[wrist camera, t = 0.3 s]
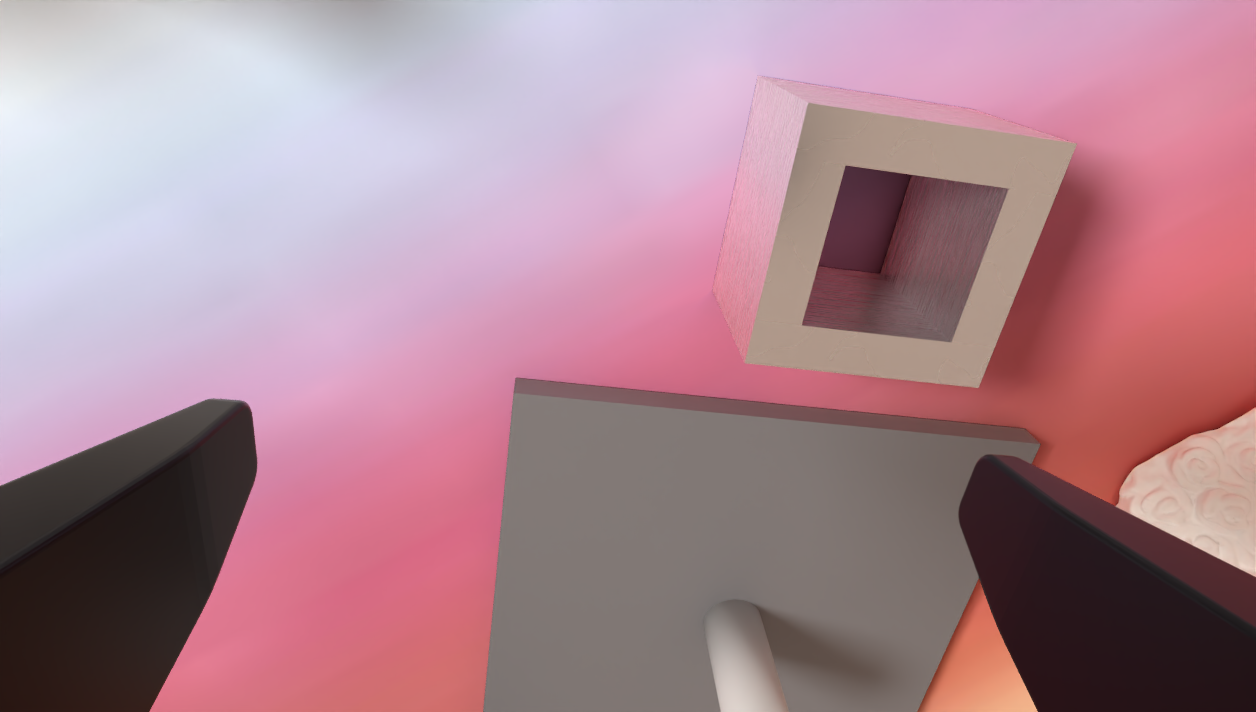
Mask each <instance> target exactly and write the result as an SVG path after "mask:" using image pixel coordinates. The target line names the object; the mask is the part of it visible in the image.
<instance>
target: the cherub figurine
mask: <svg viewBox="0 0 1256 712" xmlns="http://www.w3.org/2000/svg"><path fill="white" fill-rule="evenodd" d="M1119 495H1120V497H1119V502H1118V504H1117V505H1116V507H1118V508H1120V509H1122V510H1124V511H1126V512H1128V513H1130V514H1132V515H1134V516H1136V517H1138V518H1140V519H1141V520H1143V521H1145V522H1147V523H1149V524H1151V525H1153V526H1155V527H1157V528H1159V529H1161V530H1163V531H1165V532H1167V533H1169V534H1171V535H1173V536H1175V537H1177V538H1179V539H1181V540H1183V541H1185V542H1187V543H1189V544H1191V545H1193V546H1195V547H1197V548H1199V549H1201V550H1203V551H1205V552H1207V553H1209V554H1211V555H1213V556H1215V557H1217V558H1219V559H1221V560H1223V561H1225V562H1227V563H1229V564H1231V565H1233V566H1235V567H1237V568H1239V569H1241V570H1243V571H1245V572H1247V573H1249V574H1251V575H1253V576H1255V577H1256V407H1255V408H1253V409H1252V410H1250V411H1249V412H1247V413H1246V414H1244V415H1242V416H1240V417H1239V418H1237V419H1235V420H1233V421H1231V422H1230V423H1228V424H1226V425H1224V426H1222V427H1220V428H1218V429H1216V430H1211V431H1206V432H1203V433H1198V434H1194V435H1191V436H1189V437H1187V438H1186V439H1184V440H1182V441H1181V442H1179V443H1177V444H1175V445H1173V446H1171V447H1170V448H1168V449H1166V450H1164V451H1163V452H1161V453H1159V454H1157V455H1155V456H1154V457H1152V458H1151V459H1149V460H1148V461H1146V462H1143V463H1142V464H1140V465H1138V466H1136V467H1135V468H1134V469H1133V470H1132V471H1131V472H1130V474H1129V475H1128V477H1127V478H1126V480H1125V481H1124V483H1123V485H1122V486H1121V488H1120V491H1119Z"/></svg>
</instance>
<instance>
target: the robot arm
mask: <svg viewBox="0 0 1256 712" xmlns="http://www.w3.org/2000/svg"><path fill="white" fill-rule="evenodd" d="M256 472H257V454H256V445H255V436H254V427H253V418H252V412H251V409H250V407H249V405H248V404H247V403H246V402H244V401H240V400H227V399H207V400H205V401H202V402H200V403H197V404H195V405H193V406H190V407H188V408H185V409H183V410H181V411H178V412H176V413H173V414H171V415H169V416H166V417H164V418H161V419H159V420H157V421H154V422H152V423H149V424H147V425H145V426H142V427H140V428H137V429H135V430H133V431H130V432H128V433H125V434H123V435H121V436H118V437H116V438H113V439H111V440H109V441H106V442H104V443H101V444H99V445H97V446H94V447H92V448H90V449H87V450H85V451H82V452H80V453H78V454H75V455H73V456H70V457H68V458H66V459H63V460H61V461H58V462H56V463H54V464H51V465H49V466H46V467H44V468H42V469H39V470H37V471H34V472H32V473H30V474H27V475H25V476H22V477H20V478H18V479H15V480H13V481H10V482H8V483H6V484H3V485H1V486H0V712H149V711H150V709H151V707H152V705H153V704H154V702H155V700H156V698H157V696H158V694H159V692H160V690H161V688H162V687H163V685H164V683H165V681H166V679H167V677H168V675H169V673H170V671H171V669H172V668H173V666H174V664H175V662H176V660H177V658H178V656H179V654H180V652H181V651H182V649H183V647H184V645H185V643H186V641H187V639H188V637H189V635H190V634H191V632H192V630H193V628H194V626H195V624H196V622H197V620H198V618H199V616H200V615H201V613H202V611H203V609H204V607H205V605H206V603H207V601H208V599H209V597H210V594H211V592H212V590H213V588H214V585H215V583H216V580H217V578H218V576H219V573H220V570H221V568H222V565H223V563H224V560H225V557H226V555H227V552H228V549H229V547H230V544H231V542H232V539H233V536H234V534H235V531H236V529H237V526H238V523H239V521H240V518H241V515H242V513H243V510H244V508H245V505H246V502H247V500H248V497H249V494H250V492H251V489H252V487H253V484H254V481H255V477H256ZM958 518H959V524H960V527H961V530H962V533H963V535H964V538H965V541H966V544H967V546H968V549H969V552H970V555H971V557H972V560H973V563H974V566H975V568H976V571H977V574H978V576H979V579H980V582H981V585H982V587H983V590H984V593H985V596H986V598H987V601H988V604H989V607H990V609H991V612H992V614H993V617H994V619H995V622H996V625H997V627H998V629H999V632H1000V634H1001V636H1002V638H1003V640H1004V643H1005V645H1006V647H1007V649H1008V651H1009V653H1010V655H1011V657H1012V659H1013V661H1014V663H1015V665H1016V667H1017V669H1018V672H1019V674H1020V676H1021V678H1022V680H1023V682H1024V684H1025V686H1026V688H1027V690H1028V692H1029V694H1030V696H1031V698H1032V700H1033V702H1034V705H1035V707H1036V709H1037V711H1038V712H1256V577H1255V576H1253V575H1251V574H1249V573H1247V572H1245V571H1243V570H1241V569H1239V568H1237V567H1235V566H1233V565H1231V564H1229V563H1227V562H1225V561H1223V560H1221V559H1219V558H1217V557H1215V556H1213V555H1211V554H1209V553H1207V552H1205V551H1203V550H1201V549H1199V548H1197V547H1195V546H1193V545H1191V544H1189V543H1187V542H1185V541H1183V540H1181V539H1179V538H1177V537H1175V536H1173V535H1171V534H1169V533H1167V532H1165V531H1163V530H1161V529H1159V528H1157V527H1155V526H1153V525H1151V524H1149V523H1147V522H1145V521H1143V520H1141V519H1140V518H1138V517H1136V516H1134V515H1132V514H1130V513H1128V512H1126V511H1124V510H1122V509H1120V508H1118V507H1116V506H1114V505H1112V504H1110V503H1108V502H1106V501H1104V500H1102V499H1100V498H1098V497H1096V496H1094V495H1092V494H1090V493H1088V492H1086V491H1084V490H1082V489H1080V488H1078V487H1076V486H1074V485H1072V484H1070V483H1068V482H1066V481H1064V480H1062V479H1060V478H1058V477H1056V476H1054V475H1052V474H1050V473H1048V472H1046V471H1044V470H1042V469H1040V468H1038V467H1036V466H1034V465H1032V464H1030V463H1028V462H1026V461H1024V460H1022V459H1020V458H1018V457H1015V456H1009V455H994V454H987V455H984V456H982V457H981V458H980V459H979V460H978V461H977V462H976V464H975V467H974V469H973V472H972V474H971V477H970V479H969V482H968V484H967V487H966V489H965V492H964V494H963V497H962V499H961V502H960V505H959V511H958Z"/></svg>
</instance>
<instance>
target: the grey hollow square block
mask: <svg viewBox="0 0 1256 712" xmlns="http://www.w3.org/2000/svg"><path fill="white" fill-rule="evenodd" d="M1076 145H1077V144H1076V143H1073V142H1070V141H1067V140H1064V139H1061V138H1058V137H1055V136H1052V135H1049V134H1046V133H1043V132H1040V131H1037V130H1034V129H1031V128H1028V127H1025V126H1022V125H1019V124H1016V123H1013V122H1010V121H1007V120H1004V119H1001V118H998V117H995V116H992V115H989V114H986V113H983V112H980V111H977V110H974V109H968V108H962V107H956V106H949V105H943V104H936V103H930V102H923V101H917V100H911V99H904V98H898V97H891V96H885V95H878V94H872V93H866V92H859V91H853V90H846V89H840V88H833V87H827V86H821V85H814V84H808V83H801V82H795V81H789V80H782V79H776V78H769V77H763V76H758V77H757V82H756V87H755V91H754V96H753V101H752V105H751V110H750V115H749V119H748V124H747V129H746V134H745V138H744V143H743V148H742V152H741V157H740V162H739V166H738V171H737V176H736V180H735V185H734V190H733V195H732V199H731V204H730V209H729V213H728V218H727V223H726V227H725V232H724V237H723V242H722V246H721V251H720V256H719V260H718V265H717V270H716V274H715V279H714V284H713V288H712V291H713V293H714V295H715V298H716V300H717V302H718V304H719V307H720V309H721V311H722V313H723V316H724V318H725V320H726V322H727V325H728V327H729V329H730V331H731V334H732V336H733V338H734V340H735V343H736V345H737V347H738V349H739V352H740V354H741V356H742V358H743V361H744V363H748V364H758V365H767V366H777V367H786V368H796V369H805V370H814V371H824V372H833V373H843V374H852V375H861V376H871V377H880V378H890V379H899V380H909V381H918V382H927V383H937V384H946V385H956V386H965V387H974V388H979V385H980V383H981V380H982V378H983V375H984V373H985V370H986V368H987V366H988V363H989V361H990V358H991V356H992V353H993V351H994V348H995V346H996V343H997V341H998V338H999V336H1000V333H1001V331H1002V328H1003V326H1004V323H1005V321H1006V318H1007V316H1008V313H1009V311H1010V309H1011V306H1012V304H1013V301H1014V299H1015V296H1016V294H1017V291H1018V289H1019V286H1020V284H1021V281H1022V279H1023V276H1024V274H1025V271H1026V269H1027V266H1028V264H1029V261H1030V259H1031V256H1032V254H1033V252H1034V249H1035V247H1036V244H1037V242H1038V239H1039V237H1040V234H1041V232H1042V229H1043V227H1044V224H1045V222H1046V219H1047V217H1048V214H1049V212H1050V209H1051V207H1052V204H1053V202H1054V199H1055V197H1056V195H1057V192H1058V190H1059V187H1060V185H1061V182H1062V180H1063V177H1064V175H1065V172H1066V170H1067V167H1068V165H1069V162H1070V160H1071V157H1072V155H1073V152H1074V150H1075V147H1076ZM846 165H847V166H854V167H861V168H868V169H875V170H882V171H889V172H896V173H903V174H910V175H911V178H910V181H909V184H908V187H907V191H906V194H905V197H904V200H903V203H902V206H901V210H900V213H899V216H898V219H897V222H896V226H895V229H894V232H893V235H892V238H891V241H890V245H889V248H888V251H887V254H886V257H885V261H884V264H883V267H882V270H881V273H880V274H877V273H869V272H861V271H853V270H845V269H837V268H829V267H821V266H818V264H819V260H820V257H821V253H822V249H823V246H824V242H825V238H826V235H827V231H828V227H829V224H830V220H831V217H832V213H833V209H834V206H835V202H836V198H837V195H838V191H839V187H840V184H841V180H842V177H843V173H844V169H845V166H846Z"/></svg>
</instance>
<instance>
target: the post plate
mask: <svg viewBox="0 0 1256 712" xmlns="http://www.w3.org/2000/svg"><path fill="white" fill-rule="evenodd" d="M1040 445H1041V444H1040V443H1039V442H1038V441H1037V440H1036V439H1035V438H1034V437H1033V436H1032V435H1031V434H1030V433H1029V432H1028V431H1027V430H1026V429H1023V428H1013V427H1003V426H993V425H983V424H973V423H963V422H953V421H943V420H933V419H923V418H913V417H903V416H893V415H883V414H873V413H863V412H853V411H843V410H833V409H823V408H813V407H803V406H793V405H783V404H773V403H763V402H753V401H742V400H732V399H722V398H712V397H702V396H692V395H682V394H672V393H662V392H652V391H642V390H632V389H622V388H612V387H602V386H592V385H582V384H572V383H562V382H552V381H542V380H532V379H522V378H516V380H515V387H514V395H513V405H512V416H511V426H510V437H509V447H508V458H507V468H506V479H505V489H504V499H503V510H502V520H501V531H500V541H499V552H498V562H497V573H496V583H495V594H494V604H493V615H492V625H491V636H490V646H489V657H488V667H487V678H486V688H485V699H484V709H483V712H917V711H918V709H919V707H920V704H921V702H922V700H923V698H924V696H925V694H926V691H927V689H928V687H929V685H930V683H931V681H932V678H933V676H934V674H935V672H936V670H937V668H938V665H939V663H940V661H941V659H942V657H943V655H944V652H945V650H946V648H947V646H948V644H949V642H950V639H951V637H952V635H953V633H954V631H955V629H956V626H957V624H958V622H959V620H960V618H961V616H962V614H963V611H964V609H965V607H966V605H967V603H968V601H969V598H970V596H971V594H972V592H973V590H974V588H975V585H976V583H977V581H978V579H979V576H978V574H977V571H976V568H975V566H974V563H973V560H972V557H971V555H970V552H969V549H968V546H967V544H966V541H965V538H964V535H963V533H962V530H961V527H960V524H959V518H958V511H959V505H960V502H961V499H962V497H963V494H964V492H965V489H966V487H967V484H968V482H969V479H970V477H971V474H972V472H973V469H974V467H975V464H976V462H977V461H978V460H979V459H980V458H981V457H982V456H984V455H987V454H994V455H1009V456H1015V457H1018V458H1020V459H1022V460H1024V461H1026V462H1028V463H1030V464H1032V462H1033V460H1034V458H1035V456H1036V453H1037V451H1038V449H1039V447H1040Z"/></svg>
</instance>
